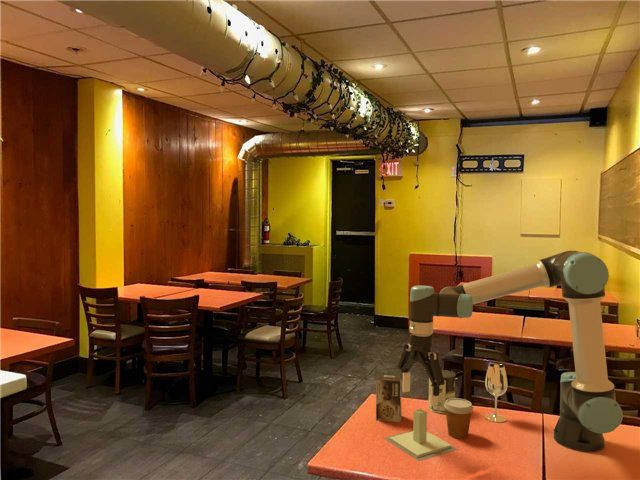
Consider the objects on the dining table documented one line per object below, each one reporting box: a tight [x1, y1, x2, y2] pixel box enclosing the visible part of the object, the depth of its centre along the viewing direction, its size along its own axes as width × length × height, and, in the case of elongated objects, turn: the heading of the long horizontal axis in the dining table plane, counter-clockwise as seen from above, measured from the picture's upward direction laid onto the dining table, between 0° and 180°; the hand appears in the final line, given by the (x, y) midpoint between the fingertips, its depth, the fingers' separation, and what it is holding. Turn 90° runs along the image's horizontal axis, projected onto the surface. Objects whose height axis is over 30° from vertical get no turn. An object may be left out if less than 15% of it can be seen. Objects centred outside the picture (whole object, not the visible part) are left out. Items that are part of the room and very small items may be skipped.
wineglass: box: [484, 363, 508, 423], centre depth 186 cm, size 8×8×20 cm
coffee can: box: [427, 369, 457, 415], centre depth 195 cm, size 10×10×14 cm
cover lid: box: [389, 408, 452, 457], centre depth 163 cm, size 14×14×11 cm
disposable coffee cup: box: [444, 397, 474, 440], centre depth 170 cm, size 10×10×12 cm
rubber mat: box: [383, 430, 459, 462], centre depth 163 cm, size 18×16×1 cm
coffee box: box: [375, 373, 402, 423], centre depth 184 cm, size 9×6×16 cm
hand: (419, 398), depth 163 cm, fingers open, 13 cm apart
